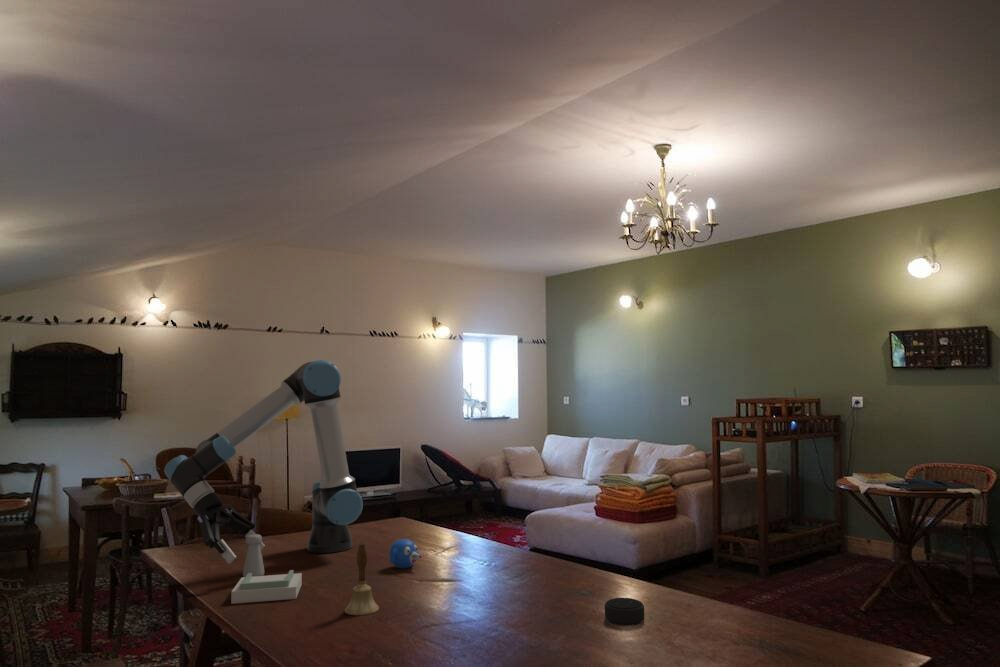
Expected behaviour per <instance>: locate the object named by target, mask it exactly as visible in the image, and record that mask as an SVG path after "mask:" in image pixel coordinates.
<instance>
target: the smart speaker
mask: <svg viewBox="0 0 1000 667" xmlns="http://www.w3.org/2000/svg"><path fill="white" fill-rule="evenodd" d="M645 617H646V616H645V605H644V604H643V602H642V601H640V600H639V599H634V598H632V597H631V598H630V597H615V598H610V599H608V600H607V601H606V602H605V603H604V618H605V620H606V621H607V622H609V623H611V624H613V625H618V626H626V627H627V626H636V625H638V624H642V622H643V621H644V620H645Z"/></svg>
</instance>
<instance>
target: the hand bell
mask: <svg viewBox="0 0 1000 667" xmlns="http://www.w3.org/2000/svg"><path fill="white" fill-rule="evenodd" d="M356 563H357V567H358V582H357V583H358V584H357V585H356V586H353V588H352V594H351V599H350V601H349V603H348V604H347V606H346V607H345V608H344V613H345V614H347V615H350V616H368V615H371V614H375V613H377V612H379V610H380V606H379V605H378V604H377V603H376V602H375V600H374V597H373V592H372V587H371V585H368V584H367V583H366V580H367V579H366V568H367V563H368V551H367V548H366V544H365V543H364V542H361V543H359V545H358V549H357V552H356Z"/></svg>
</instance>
